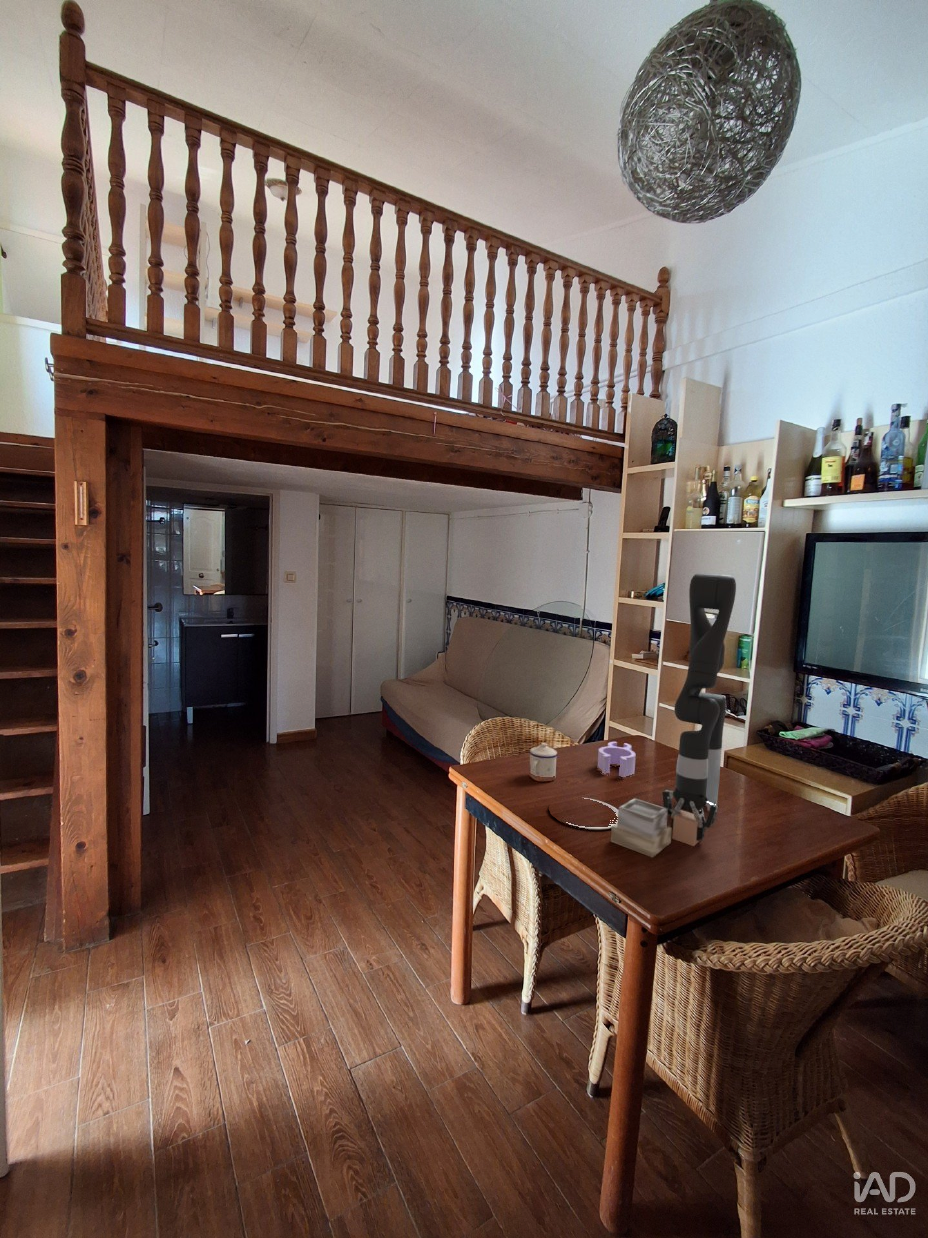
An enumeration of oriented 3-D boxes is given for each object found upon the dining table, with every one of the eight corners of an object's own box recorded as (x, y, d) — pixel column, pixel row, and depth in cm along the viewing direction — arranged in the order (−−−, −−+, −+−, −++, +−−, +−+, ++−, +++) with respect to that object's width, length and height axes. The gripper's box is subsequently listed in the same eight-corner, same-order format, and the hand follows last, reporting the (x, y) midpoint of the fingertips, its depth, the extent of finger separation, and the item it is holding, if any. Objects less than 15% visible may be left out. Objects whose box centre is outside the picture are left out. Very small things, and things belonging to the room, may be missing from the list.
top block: (680, 832, 149) (682, 810, 148) (701, 839, 145) (703, 817, 145) (672, 838, 145) (673, 816, 144) (693, 846, 141) (695, 823, 141)
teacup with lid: (535, 771, 191) (537, 737, 190) (560, 777, 186) (562, 743, 185) (519, 781, 181) (521, 746, 180) (544, 788, 176) (546, 751, 175)
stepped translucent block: (630, 828, 150) (632, 795, 149) (670, 843, 142) (673, 808, 142) (610, 841, 142) (613, 807, 141) (652, 857, 134) (655, 821, 134)
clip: (602, 758, 209) (603, 740, 208) (636, 763, 205) (638, 745, 204) (594, 774, 190) (595, 755, 190) (632, 781, 186) (633, 761, 185)
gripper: (726, 776, 142) (720, 841, 143) (670, 762, 151) (665, 822, 153) (715, 784, 136) (710, 850, 137) (658, 768, 146) (654, 831, 147)
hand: (687, 835), depth 145 cm, fingers closed on top block, 5 cm apart
